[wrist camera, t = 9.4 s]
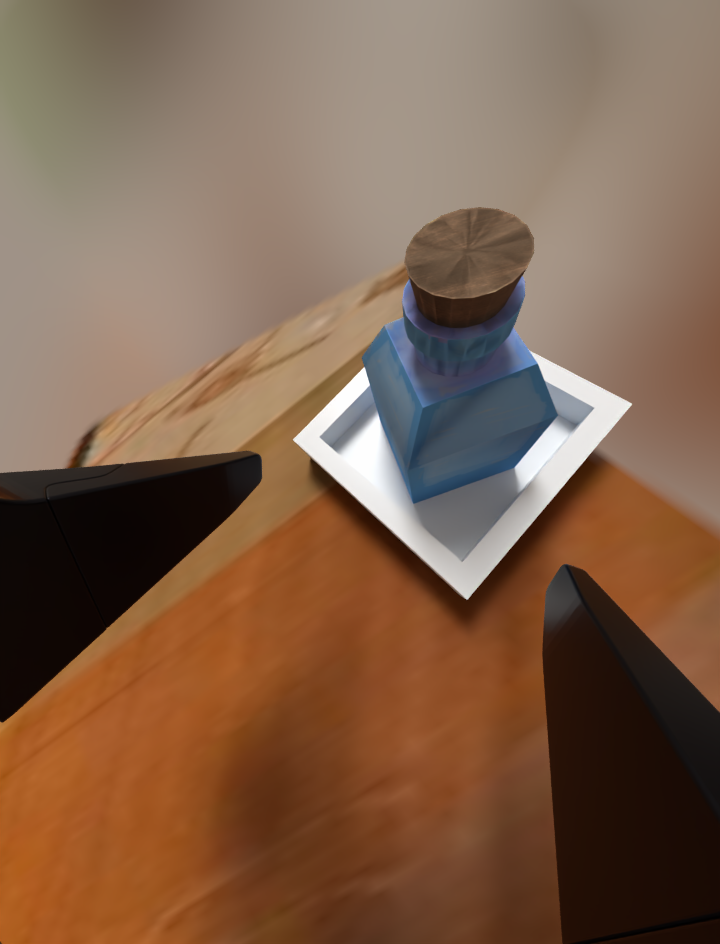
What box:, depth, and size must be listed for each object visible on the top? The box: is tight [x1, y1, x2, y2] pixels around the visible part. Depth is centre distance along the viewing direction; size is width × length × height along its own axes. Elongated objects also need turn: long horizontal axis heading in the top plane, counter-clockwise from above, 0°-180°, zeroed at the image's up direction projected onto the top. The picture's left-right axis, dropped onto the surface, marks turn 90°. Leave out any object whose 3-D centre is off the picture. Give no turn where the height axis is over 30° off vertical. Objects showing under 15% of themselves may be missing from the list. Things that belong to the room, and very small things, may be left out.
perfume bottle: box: [362, 207, 558, 504], centre depth 13 cm, size 6×6×12 cm
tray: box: [293, 351, 632, 600], centre depth 18 cm, size 13×13×3 cm
